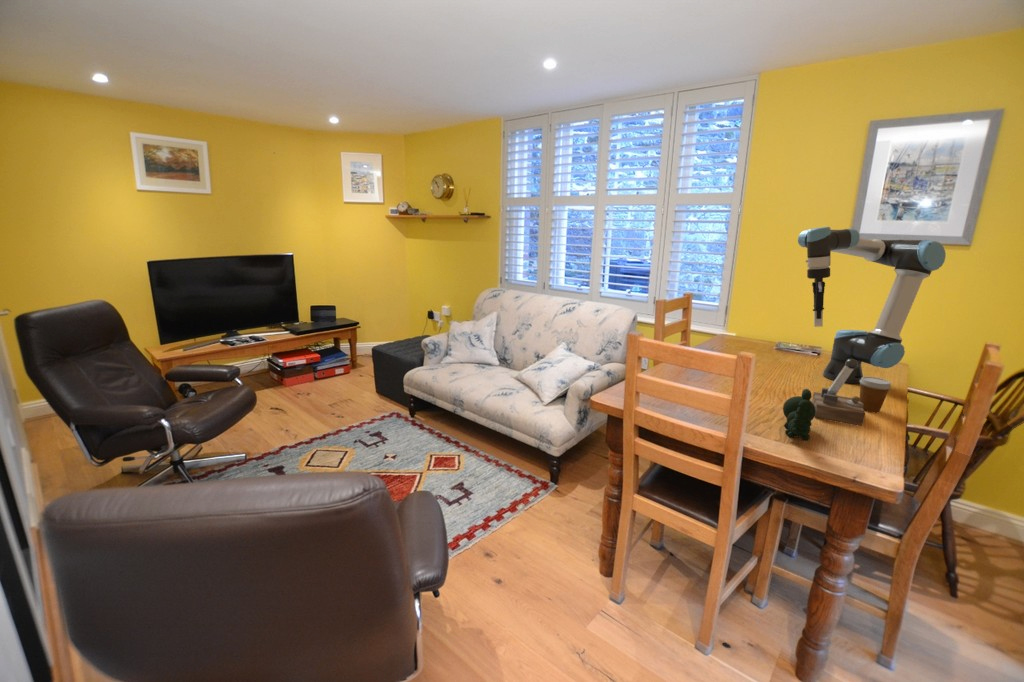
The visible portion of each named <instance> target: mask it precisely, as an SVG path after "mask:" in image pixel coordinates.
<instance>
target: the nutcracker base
mask: <svg viewBox="0 0 1024 682" xmlns="http://www.w3.org/2000/svg"><path fill="white" fill-rule="evenodd" d="M828 389H829V388H827V387H822V388H821V392H817V391H814V392H813V395H812V398H811V399H812V401H811V402H812V403H813V404H814V406H815V409H816V413H815V417H814V418H815V419H820V420H824V419H825V421H830V420H831V422H835V421H836V422H837V423H841V422H842V423H841V424H846V423H847V424H846V425H851V424H852V426H857V425H858V426H857V427H863V424H864V421H865V417H866V411H864V410H863V408H862V407H863V405H864V404H863V403H861V402H859V401H860V396H857V395H855V396H853V397H848V396H841V395H837V394H836V395H832V394H826V393H827V391H828Z"/></svg>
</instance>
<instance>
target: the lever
mask: <svg viewBox="0 0 1024 682" xmlns="http://www.w3.org/2000/svg"><path fill="white" fill-rule="evenodd" d="M857 367H858V362H857V360H855V359H848V360H847V361H846V362H845V366H844V368H843V369H842V370H841V372H840V373H839V375H838V376H837V378H836V379H835V380H833V382H832V384H831V385H830V386H829V388H828V391H827V393H826V394H832V395H837V394H838V393H839V391H840V389H841V388H842V387H843V386H844V384H845V381H846V380H847V378H848V377H849V375H850V374H851V373H852V371H853V370H854V369H855V368H857Z"/></svg>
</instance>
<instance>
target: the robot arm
mask: <svg viewBox="0 0 1024 682" xmlns="http://www.w3.org/2000/svg"><path fill="white" fill-rule="evenodd" d="M797 243H798V245H799V247H802V248H806V252H807V256H806V257H807V258H806V259H807V260H805V263H807V270H806V272H807V273H806V275H807V279H809V280H811V279H812V280H813V279H814V282H813V281H812V283H811V286H812V292H813V293H812V294H813V309H812V312H813V327H817V328H819V327H821V328H822V327H823V323H824V322H823V320H824V319H823V317H824V316H823V313H824V312H823V311H824V310H825V307H824V302H825V301H824V297H825V287H826V282H825V281H824V279H825V278H829V277H831V268H830V267H831V252H833V253H838V254H844V255H849V256H853V257H854V256H855V257H858V258H863V259H864V260H866V261H867V262H871V263H872V262H873V263H876V264H880V265H883V266H887V267H892V268H894V269H893V270H894V272H895V274H896V276H895V279H894V281H893V284H892V286H891V289H890V290H889V293H888V295H887V298H886V300H885V302H884V305H883V308H882V310H881V312H880V315H879V318H878V320H877V322H876V325H875V328H873V329H871V330H869V331H867V330H859V329H858V330H857V329H840V330H837V331H836V332H835V336H834V338H833V339H834V340H833V344H832V345H833V346H832V350H831V354H830V355H831V356H830V360H829V362H828V363H827V364H826V366H825V368H824V369H823V373H822V376H823V377H824V378H826V379H828V378H829V380H831V379H832V381H835V379H836V378H837V376H838V375H839V373H840V372H841V370H842V369H843V368H844V366H845V362H846V361H847V360H848V359H855V360H857V362H858V367H857V368H855V369H854V370H853V371H852V373H851V374H850V375H849V377H848V378H847V380H846V381H845V383H846V384H860V380H861V378H862V377H864V373H863V369H862V364H863V363H865V364H868V365H871V366H873V367H876V368H878V367H879V368H881V369H889V368H893V367H894V366H896V365H898V364H899V363H900V362H901V361H902V359H903V358H904V356H905V352H906V351H905V346H904V345H903V344H902V342H903V338H902V337H901V336H900V335H901V332H902V329H903V327H904V325H905V323H906V321H907V318H908V316H909V313H910V312H911V309H912V306H913V304H914V301H915V299H916V297H917V295H918V292H919V290H920V288H921V285H922V283H923V281H924V280H925V279H926V278H929V277H931V276H930V275H932V272H934V271H936V270H939V269H940V268H942V266H943V265H944V263H945V261H946V250H945V247H944V246H943V244H942V243H940V242H939V241H936V240H927V239H922V240H921V239H919V240H918V239H880V238H874V239H872V240H871V239H867V238H862V237H861V236H860V233H859V231H858V230H857V229H854V228H844V229H831V227H830V226H823V227H821V226H820V227H815V228H810V229H804V230H803V231H801V232H800V233H799V235H798V238H797ZM845 383H844V384H845Z"/></svg>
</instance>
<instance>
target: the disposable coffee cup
mask: <svg viewBox="0 0 1024 682" xmlns="http://www.w3.org/2000/svg"><path fill="white" fill-rule="evenodd" d="M859 387H860V389H859V398H860V401H859V402H861V403H863V404H864V405H863V407H862V408H863V410H864V412H866V411H868V412H867V413H871V412H875V413H874V414H877V412H879V413H880V411H881V408H882V406H883V404H884V402H885V400H886V397H887V395H888V393H889V391H890V390H891V388H892V385H891V382H890V381H889V380H887V379H884V378H880V377H874V376H863V377H862V378H861V380H860V383H859Z"/></svg>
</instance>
